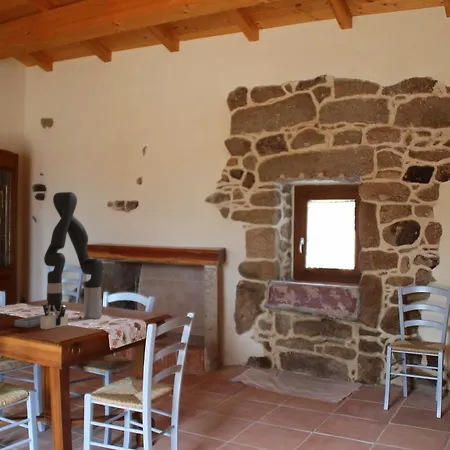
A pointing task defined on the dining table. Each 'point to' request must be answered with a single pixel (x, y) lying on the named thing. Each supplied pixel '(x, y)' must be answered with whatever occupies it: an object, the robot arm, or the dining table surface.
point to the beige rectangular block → (53, 321)
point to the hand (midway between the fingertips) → (54, 324)
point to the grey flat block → (29, 321)
